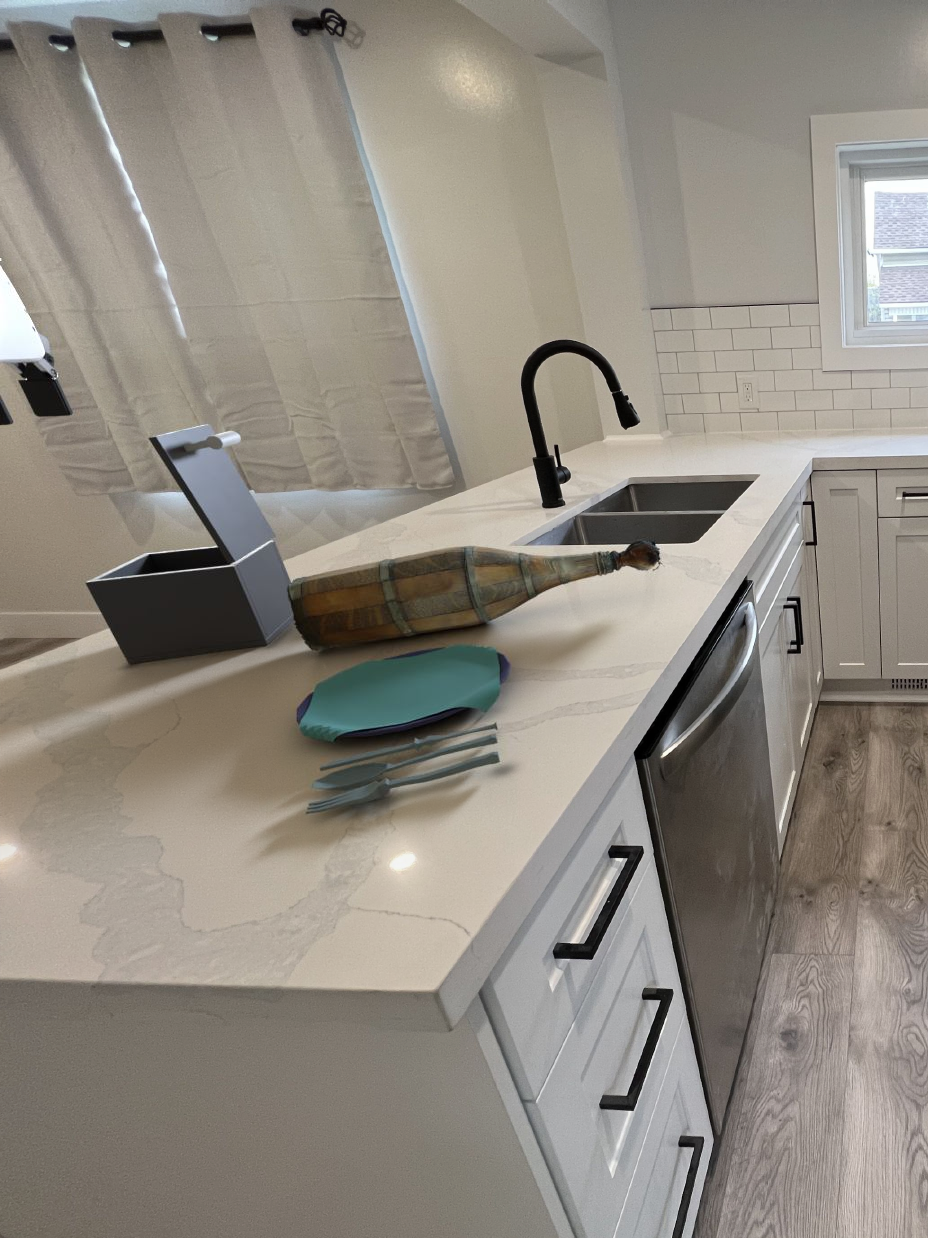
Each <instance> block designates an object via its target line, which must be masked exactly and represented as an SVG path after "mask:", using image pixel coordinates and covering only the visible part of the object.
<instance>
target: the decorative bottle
mask: <svg viewBox="0 0 928 1238" xmlns="http://www.w3.org/2000/svg"><path fill="white" fill-rule="evenodd" d="M660 550H661V548H659V547H658V546H657V545H656V542H655V541H654V540H653V541H652V540H649V541H646V540H644V539H638V540H635V541H632V542H631V543H630V544H629V545H628V546H627V547H626V548H625V550H622V551H619V552H618V551H616V550H614V549H613V550H611V551H610V550H607V551H602V550H599V551H594V552H588V553H578V554H565V555H539V554H538V555H537V554H536V555H535V554H529V553H525V552H517V551H512V550H507V549H501V548H496V547H495V548H493V547H487V546H486V547H485V546H477V545H466V546H452V547H446V548H440V549H435V550H430V551H425V552H419V553H415V554H409V555H405V556H400V557H395V558H386V559H385V558H384V559H382V560H379V561H374V562H369V563H363V564H360V565H359V564H358V565H354V566H349V567H345V568H340V569H334V570H331V571H326V572H325V571H324V572H321V573H316V574H313V575H308V576H301V577H297V578H294V579H293V580H291V584H289V585H288V586H287V592H288V597H289V598H288V600H289V601H290V603H291V608H292V612H293V619H294V621H293V623H294V626H295V630H297V632H298V633H299V635H301V636H300V637H301V639H302V640H303V641H304V644H305V645H306V646H307V647H308V649H310V650H311V651H317V652H318V651H319V650H322V649H330V648H335V647H342V646H346V645H347V646H348V645H355V644H363V643H370V642H376V641H384V640H390V639H397V638H404V637H412V636H416V635H422V634H429V633H435V632H441V631H447V630H454V629H459V628H468V627H472V626H477V625H480V624H484V623H489V622H491V621H493V620H496V619H497V618H501V617H502V616H504V615H507V614H508V613H510V612H511V611H514V610H515V609H517V608H519V607H520V606H522V605H524V604H526V603H527V602H529V601H530V600H533V599H535V598H536V597H538V596H539V595H541V594H543V593H545V592H547V591H549V590H551V589H554V588H556V587H559V586H561V585H566V584H569V583H572V582H576V581H580V580H585V579H589V578H592V577H597V576H598V577H602V576H606V575H608V574H612V573H614V571H616V572H619V571H620V570H621V569H622V568H624V567H629V568H633V569H636V570H637V571H642V572H643V571H645V572H648V571H649V570H652V571H653V572H654V571H656V570H658V569H659V567H660V565H663V563H662V562H661V560H662V559H661V557H660V554H661V553H660ZM657 564H658V566H656V565H657ZM655 566H656V568H654V567H655ZM663 567H665V565H663ZM652 568H654V569H652Z"/></svg>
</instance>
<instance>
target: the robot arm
mask: <svg viewBox="0 0 928 1238" xmlns="http://www.w3.org/2000/svg"><path fill="white" fill-rule="evenodd" d="M1 261H2V259H1V258H0V262H1ZM50 344H51V343H50V341H49V339H48V338H47V337H46V336H45V335H43V334H42V333H40V332H38V331H37V329H36V327H35V324H34V323H33V320H32V318H31V316H30V315H29V313H28V311H27V309H26V307H25V304H23V302H22V300H21V298H20V296H19V294H18V292H17V291H16V288H15V287H14V285H13V284H12V282H11V281H10V279H9V277H8V276H7V274H6V273H5V271H4V270H3V268H2V266H1V265H0V364H7V366H9V367H10V368H11V369H12V370H13V371H14V372H15V373H17V374H18V375H19V376H20V377H21V378H22V379H18V380H17V381H18V384H19V386H20V387H21V390H22V392H23V393H24V397H25V398H26V400H27V402H28V404H29V406H30V409H31V410H32V412H33V414H34V415H35V416H36V417H38V418H46V417H47V418H48V417H68V416H72V415H73V414H74V411H73V410H72V407H71V405H70V403H69V401H68V399H67V397H66V395H65V392H64V390H63V388H62V386H61V384H60V382H59V373H58V371H57V370H56V369H55V361H56V360H55V357H53V355H52V351H51V345H50ZM13 424H14V420H13V418H12V416H11V413H10V412H9V410H8V407H7V406H6V403H5V401H4V400H3V398H2V396H1V395H0V426H9V425H10V426H11V425H13Z"/></svg>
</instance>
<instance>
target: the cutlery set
mask: <svg viewBox="0 0 928 1238" xmlns="http://www.w3.org/2000/svg"><path fill="white" fill-rule="evenodd" d="M511 668H512V666H511V662H510V661H509V660H508V658H507V656H506V655H505V654H503V653H501V652H499V651H498V648H495V647H492V646H485V645H477V644H474V645H473V644H471V643H470V644H469V643H468V644H465V643H460V644H454V645H450V646H444V647H443V646H442V647H436V648H429V649H423V650H422V649H421V650H415V651H410V652H407V653H402V654H398V655H394V656H390V657H386V658H382V659H375V660H368V661H364V662H360V663H359V664H356V665H354V666H352V667H349V668H347V669H344V670H343V671H340V672H338V673H336V674H334V675H332V676H330V677H328V678H325V679H324V680H321V681H320V682H318V683H316V685H314V689H313V691H312V692H311V693H309V694H308V695H307V696H306V697H305V698H304V699H303V700H302V702H301V703H300V704H299V706H298V707H297V708H296V721H295V722H296V723H297V724H298V725H299V726H298V730H299V731H300V732H301V734H302V735H303V736H304V737H307V738H309V739H316V740H324V741H326V742H331V743H333V744H334V743H336V741H337V739H338V738H355V737H356V738H357V737H372V736H377V735H384V734H389V733H396V732H401V731H407V730H410V729H414V728H417V727H420V726H423V725H427V724H431V723H435V722H437V721H440V720H442V719H445V718H447V717H449V716H451V715H454V714H457V713H459V712H461V711H463V710H465V709H467V708H471V709H475V710H477V711H480V712H483V713H487V712H488V711H489V710H490V709H491V708H492V706H493V705H494V704H495V703H496V701H497V699H498V697H499V696H500V693H501V692H500V691H501V685H502V684H503V683H504V682H506V680H507V679H508V677H509V674H510V670H511ZM491 730H496V731H499V727H498V723H497V721H495V722H494V723H493V724H488V725H485V726H481V727H477V728H475V729H474V728H473V729H471V730H470V729H469V730H464V731H463V730H462V731H457V732H453V733H449V734H445V735H436V734H435V735H434V734H433V735H427V736H426V737H425V738H423V739H419V738H417V737H414V740H413V742H411V743H406V744H400V745H395V746H389V747H385V748H380V749H375V750H372V751H367V752H363V753H359V754H355V755H350V756H347V757H342V758H339V759H335V760H333V761H330V762H327V763H325V764H323V765H321V766H320V767H319V771H320V772H324V771H328V770H331V769H336V768H341V767H344V766H348V767H346V768H341V769H339V770H336V771H333V772H330V773H327V774H326V775H324V776H322V777H320V778H318V779H316V780H313V781H312V784H311V787H310V788H311V789H316V790H317V789H318V790H327V791H338V790H347V789H348V791H345V792H342V793H340V794H339V793H338V794H337V795H335V796H331V797H328V798H323V799H321V800H316V801H312V802H308V804H307V805H308V806H306V811H305V814H306V815H310V814H317V813H323V812H326V811H329V810H333V809H338V808H341V807H346V806H352V805H357V804H362V803H366V802H370V801H373V800H378V799H380V798H383V797H385V796H387V795H389V794H390V792H391V789H395V788H400V787H404V786H405V787H406V786H411V785H417V784H423V783H428V782H432V781H436V780H441V779H443V778H447V777H450V776H453V775H457V774H458V775H459V774H461V773H464V772H466V771H470V770H473V769H477V768H480V767H485V766H489V765H496V764H498V763H500V762H501V758H500V755H499V752H498V751H497V750H496V751H491V752H489V753H486V754H483V755H479V756H475V757H472V758H469V759H466V760H463V761H460V762H457V763H455V764H452V765H448V766H446V767H443V768H439V769H436V770H433V771H428V772H425V773H421V774H415V775H410V776H405V777H400V778H397V779H392V780H390V779H389V778H388V777H385V778H384V779H382V780H380V781H378V780H376V779H378V778H379V777H381V776H382V775H384V774H385V773H389V772H392V771H395V770H398V769H402V768H405V767H408V766H410V765H414V764H415V765H416V764H418V763H422V762H425V761H429V760H432V759H435V758H438V757H442V756H446V755H450V754H454V753H455V754H456V753H459V752H463V751H467V750H472V749H475V748H480V747H486V746H491V745H492V746H493V745H496V744H498V743H499V742H498V737H497V733H496V732H495V733H491V734H489V735H485V736H482V737H478V738H475V739H471V740H468V741H464V742H460V743H457V744H453V745H450V746H447V747H442V748H439V749H437V750H434V751H432V752H429V753H426V754H423V755H419V756H416V757H413V758H410V759H406V760H404V761H402V762H399V763H396V764H392V763H390V762H381V761H380V762H378V761H374V762H368V763H362V764H361V762H366V761H369V760H374V759H378V758H382V757H386V756H390V755H393V754H398V753H399V754H400V753H403V752H407V751H411V750H415V752H416V753H419V752H420V749H422V748H423V747H429V748H430V747H434V746H435V745H437V744H439V743H441V742H443V741H445V740H450V739H454V738H458V737H462V736H465V735H469V734H475V733H480V732H486V731H491ZM357 763H360V764H357ZM352 764H355V765H352ZM349 765H351V766H349ZM349 789H350V790H349Z"/></svg>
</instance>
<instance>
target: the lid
mask: <svg viewBox="0 0 928 1238" xmlns="http://www.w3.org/2000/svg"><path fill="white" fill-rule="evenodd" d="M148 440H149V442H150V444H151V445H152V446H153V448H154V450H155V451H156V453H157V454H158V456H159V458H160V459H161V461H162V462H163V464H164V466H165V467H166V468H167V470H168V471H169V473H170V475H171V477H172V478H173V480H174V481H175V482H176V484H177V486H178V487H179V488H180V490H181V492H182V493H183V495H184V497H185V498H186V500H187V501H188V503H189V504H190V506H191V507H192V509H193V510H194V512H195V514H196V515H197V517H198V518H199V520H200V521H201V523H202V525H203V526H204V527H205V529H206V531H207V532H208V534H209V535H210V537H211V539H212V541H213V542H214V543H215V546H218V548H219V549H220V551H221V552H222V554H223V556H224V557H225V559H226V560H227V562H228V563H233V562H236V561H237V560H239V559H241V558H242V557H244V556H245V555H247V554H249V553H250V552H252V551H253V550H255V549H257V548H258V547H260V546H261V545H263V544H265V543H266V542H268V541H272V540H273V539H274V538H276V537H277V534H276V533H275V531H274V529H273V528H272V527H271V525H270V523H269V522H268V519H267V518H266V517H265V515H264V513H263V511H262V510H261V508H260V506H259V505H258V503H257V502H256V500H255V498H254V496H253V495H252V493H251V491H250V490H249V488H248V486H247V484H246V483H245V481H244V479H243V478H242V476H241V475H240V473H239V472H238V470H237V468H236V466H235V465H234V463H233V461H232V459H231V458H230V455H228V453H227V451H226V449H225V448H228V447H231V446H235V445H238V444H240V443H241V441H242V437H241V435H240V434H239V433H238V432H236V431H233V430H228V431H224V432H220V433H217V434H216V432H215V431H214V429H213V428H212V426H211V424H210V423H207V424H203V425H202V424H201V425H197V426H194V427H189V428H185V429H180V430H175V431H171V432H167V433H163V434H158V435H154V436H149V437H148Z"/></svg>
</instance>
